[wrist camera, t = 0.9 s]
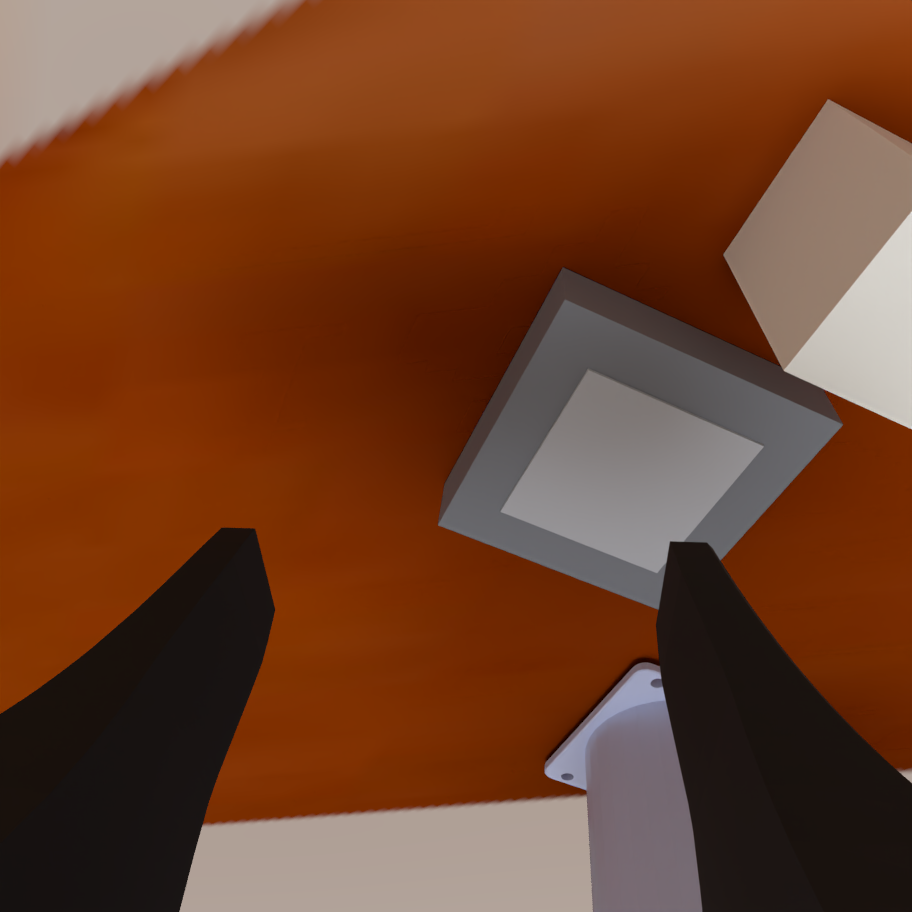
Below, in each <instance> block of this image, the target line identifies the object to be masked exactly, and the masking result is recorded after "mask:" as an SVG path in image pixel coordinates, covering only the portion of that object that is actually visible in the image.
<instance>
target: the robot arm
mask: <svg viewBox="0 0 912 912" xmlns="http://www.w3.org/2000/svg"><path fill="white" fill-rule="evenodd" d="M274 612H275V607H274V603H273V599H272V595H271V591H270V587H269V583H268V579H267V575H266V571H265V567H264V563H263V559H262V555H261V551H260V547H259V543H258V539H257V535H256V531H255V529H250V528H221V529H220V530H219V531H218V532H217V533H216V534H215V535H214V536H213V537H212V538H210V539H209V540H208V541H207V542H206V543H205V544H204V545H203V546H202V547H201V548H200V549H199V550H198V551H197V552H196V553H195V554H194V555H193V556H192V557H191V558H190V559H189V560H188V561H187V562H186V563H185V564H184V565H183V566H182V567H181V568H180V569H179V570H178V571H176V572H175V573H174V574H173V575H172V576H171V577H170V578H169V579H168V580H167V581H166V582H165V583H164V584H163V585H162V586H161V587H160V588H159V589H158V590H157V591H156V592H155V593H153V594H152V595H151V596H150V597H149V598H148V599H147V600H146V601H145V602H144V603H143V604H142V605H141V606H140V607H139V608H137V609H136V610H135V611H134V612H133V613H132V614H131V615H130V616H129V617H127V618H126V619H125V620H124V621H123V622H122V623H120V624H119V625H118V626H117V627H116V628H115V629H114V630H112V631H111V632H110V633H109V634H108V635H107V636H105V637H104V638H103V639H102V640H101V641H100V642H98V643H97V644H96V645H95V646H94V647H93V648H91V649H90V650H89V651H88V652H86V653H85V654H84V655H83V656H81V657H80V658H79V659H78V660H76V661H75V662H74V663H72V664H71V665H70V666H69V667H67V668H66V669H65V670H63V671H62V672H61V673H59V674H58V675H57V676H55V677H54V678H52V679H51V680H50V681H48V682H47V683H46V684H44V685H43V686H42V687H40V688H39V689H37V690H36V691H35V692H33V693H32V694H30V695H29V696H27V697H26V698H24V699H23V700H21V701H20V702H18V703H17V704H15V705H14V706H12V707H10V708H9V709H7V710H6V711H4V712H3V713H1V714H0V912H179V910H180V907H181V903H182V899H183V895H184V891H185V887H186V883H187V880H188V875H189V872H190V868H191V864H192V860H193V856H194V853H195V849H196V845H197V842H198V838H199V835H200V831H201V828H202V824H203V821H204V817H205V814H206V810H207V807H208V803H209V800H210V797H211V794H212V791H213V788H214V785H215V782H216V780H217V777H218V774H219V771H220V769H221V766H222V764H223V761H224V759H225V756H226V754H227V751H228V749H229V746H230V744H231V741H232V738H233V736H234V733H235V731H236V728H237V726H238V723H239V721H240V718H241V716H242V713H243V711H244V708H245V706H246V703H247V700H248V698H249V695H250V693H251V690H252V687H253V685H254V682H255V680H256V677H257V674H258V672H259V669H260V666H261V664H262V661H263V657H264V653H265V649H266V646H267V642H268V638H269V634H270V629H271V625H272V621H273V616H274ZM656 630H657V641H658V652H659V662H660V666H657V665H654V664H652V663H647V662H643V663H639V664H636V665H635V666H634V667H633V668H632V669H631V670H630V671H629V672H628V673H627V674H626V675H625V676H624V677H623V679H622V680H621V681H620V682H619V683H618V684H617V685H616V686H615V687H614V688H613V689H612V691H611V692H610V693H609V694H608V695H607V696H606V697H605V698H604V699H603V700H602V701H601V703H600V704H599V705H598V706H597V707H596V708H595V709H594V710H593V711H592V712H591V713H590V715H589V716H588V717H587V718H586V719H585V720H584V721H583V722H582V723H581V724H580V725H579V727H578V728H577V729H576V730H575V731H574V732H573V733H572V734H571V735H570V736H569V737H568V739H567V740H566V741H565V742H564V743H563V744H562V745H561V746H560V747H559V748H558V750H557V751H556V752H555V753H554V754H553V755H552V756H551V757H550V758H549V759H548V760H547V762H546V763H545V774H546V775H547V776H548V777H550V778H552V779H555V780H558V781H561V782H564V783H567V784H570V785H573V786H576V787H579V788H582V789H585V790H587V807H588V825H589V841H590V842H589V843H590V844H589V845H590V864H591V883H592V899H593V900H592V901H593V912H912V783H911V782H910V781H909V780H907V779H906V778H905V777H904V776H903V775H902V774H901V773H899V772H898V771H897V770H896V769H895V768H894V767H893V766H891V765H890V764H889V763H888V762H887V761H886V760H885V759H884V758H883V757H882V756H881V755H880V754H879V753H878V752H876V751H875V750H874V749H873V748H872V747H871V746H870V745H869V744H868V743H867V742H866V741H865V740H864V739H863V738H862V737H861V736H860V735H859V734H858V733H857V732H856V731H855V730H854V729H853V728H852V727H851V726H850V725H849V724H848V723H847V722H846V721H845V720H844V719H843V718H842V717H841V716H840V715H839V713H838V712H837V711H836V710H835V709H834V708H833V707H832V706H831V705H830V704H829V703H828V702H827V701H826V699H825V698H824V697H823V696H822V695H821V694H820V693H819V692H818V690H817V689H816V688H815V687H814V686H813V685H812V684H811V682H810V681H809V680H808V679H807V678H806V676H805V675H804V674H803V673H802V672H801V671H800V669H799V668H798V667H797V666H796V665H795V663H794V662H793V661H792V660H791V658H790V657H789V656H788V655H787V653H786V652H785V651H784V650H783V649H782V647H781V646H780V645H779V643H778V642H777V641H776V639H775V638H774V637H773V635H772V634H771V633H770V631H769V630H768V629H767V627H766V626H765V625H764V624H763V622H762V621H761V620H760V618H759V617H758V616H757V614H756V613H755V611H754V610H753V609H752V607H751V606H750V604H749V603H748V601H747V600H746V599H745V597H744V596H743V594H742V593H741V591H740V590H739V588H738V587H737V585H736V584H735V582H734V581H733V579H732V578H731V576H730V575H729V573H728V572H727V570H726V569H725V567H724V566H723V564H722V562H721V561H720V559H719V558H718V556H717V554H716V553H715V551H714V550H713V548H712V547H711V546H710V545H709V544H708V543H707V542H677V541H670V544H669V550H668V556H667V562H666V568H665V574H664V580H663V586H662V592H661V598H660V604H659V610H658V616H657V623H656Z"/></svg>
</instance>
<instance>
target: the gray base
mask: <svg viewBox="0 0 912 912" xmlns="http://www.w3.org/2000/svg"><path fill="white" fill-rule="evenodd" d="M842 425H843V423H842V422H841V420H840V418H839V416H838V415H837V413H836V411H835V409H834V408H833V406H832V404H831V402H830V401H829V399H828V397H827V396H826V394H825V392H824V390H823V389H822V388H820V387H818V386H816V385H814V384H811V383H809V382H807V381H805V380H803V379H800V378H798V377H796V376H794V375H792V374H789V373H787V372H785V371H783V369H782V367H780V366H778V365H776V364H774V363H771V362H769V361H767V360H765V359H763V358H760V357H758V356H756V355H754V354H752V353H749V352H747V351H745V350H743V349H741V348H739V347H736V346H734V345H732V344H730V343H728V342H725V341H723V340H721V339H719V338H717V337H714V336H712V335H710V334H708V333H706V332H704V331H701V330H699V329H697V328H695V327H693V326H690V325H688V324H686V323H684V322H682V321H679V320H677V319H675V318H673V317H671V316H668V315H666V314H664V313H662V312H660V311H658V310H655V309H653V308H651V307H649V306H647V305H644V304H642V303H640V302H638V301H636V300H633V299H631V298H629V297H627V296H625V295H623V294H620V293H618V292H616V291H614V290H612V289H609V288H607V287H605V286H603V285H601V284H598V283H596V282H594V281H592V280H590V279H588V278H585V277H583V276H581V275H579V274H577V273H574V272H572V271H570V270H568V269H566V268H562V270H561V272H560V273H559V275H558V277H557V279H556V281H555V283H554V284H553V286H552V288H551V290H550V292H549V294H548V295H547V297H546V299H545V301H544V303H543V305H542V306H541V308H540V310H539V312H538V314H537V316H536V317H535V319H534V321H533V323H532V325H531V327H530V328H529V330H528V332H527V334H526V336H525V338H524V339H523V341H522V343H521V345H520V347H519V349H518V350H517V352H516V354H515V356H514V358H513V360H512V361H511V363H510V365H509V367H508V369H507V371H506V372H505V374H504V376H503V378H502V380H501V381H500V383H499V385H498V387H497V389H496V391H495V392H494V394H493V396H492V398H491V400H490V402H489V403H488V405H487V407H486V409H485V411H484V413H483V414H482V416H481V418H480V420H479V422H478V424H477V425H476V427H475V429H474V431H473V433H472V435H471V436H470V438H469V440H468V442H467V444H466V446H465V447H464V449H463V451H462V453H461V455H460V457H459V458H458V460H457V462H456V464H455V466H454V468H453V469H452V471H451V473H450V475H449V477H448V479H447V480H446V482H445V484H444V490H443V496H442V502H441V509H440V515H439V521H438V525H439V526H442V527H444V528H447V529H449V530H452V531H455V532H457V533H460V534H462V535H465V536H468V537H470V538H473V539H475V540H478V541H481V542H483V543H486V544H488V545H491V546H494V547H496V548H499V549H502V550H504V551H507V552H509V553H512V554H515V555H517V556H520V557H522V558H525V559H528V560H530V561H533V562H535V563H538V564H541V565H543V566H546V567H548V568H551V569H554V570H556V571H559V572H561V573H564V574H567V575H569V576H572V577H575V578H577V579H580V580H582V581H585V582H588V583H590V584H593V585H595V586H598V587H601V588H603V589H606V590H608V591H611V592H614V593H616V594H619V595H621V596H624V597H627V598H629V599H632V600H634V601H637V602H640V603H642V604H645V605H647V606H650V607H653V608H655V609H658V610H659V604H660V598H661V592H662V586H663V580H664V574H665V568H666V562H667V556H668V550H669V544H670V541H677V542H707V543H708V544H709V545H710V546H711V547H712V548H713V550H714V551H715V553H716V554H717V556H718V558H719V559H720V560H721V559H722V558H723V557H724V556H725V555H726V554H727V553H728V551H729V550H730V549H731V548H732V547H733V546H734V545H735V544H736V543H737V541H738V540H739V539H740V538H741V537H742V536H743V535H744V534H745V533H746V532H747V530H748V529H749V528H750V527H751V526H752V525H753V524H754V523H755V522H756V520H757V519H758V518H759V517H760V516H761V515H762V514H763V513H764V512H765V511H766V509H767V508H768V507H769V506H770V505H771V504H772V503H773V502H774V501H775V499H776V498H777V497H778V496H779V495H780V494H781V493H782V492H783V491H784V489H785V488H786V487H787V486H788V485H789V484H790V483H791V482H792V481H793V480H794V478H795V477H796V476H797V475H798V474H799V473H800V472H801V471H802V470H803V468H804V467H805V466H806V465H807V464H808V463H809V462H810V461H811V460H812V459H813V457H814V456H815V455H816V454H817V453H818V452H819V451H820V450H821V449H822V447H823V446H824V445H825V444H826V443H827V442H828V441H829V440H830V439H831V437H832V436H833V435H834V434H835V433H836V432H837V431H838V430H839V429H840V428H841V426H842Z"/></svg>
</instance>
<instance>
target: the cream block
mask: <svg viewBox="0 0 912 912" xmlns="http://www.w3.org/2000/svg"><path fill="white" fill-rule="evenodd" d="M723 255H724V257H725V259H726V261H727V263H728V265H729V267H730V269H731V271H732V273H733V274H734V276H735V278H736V280H737V282H738V284H739V286H740V288H741V290H742V292H743V294H744V296H745V298H746V299H747V301H748V303H749V305H750V307H751V309H752V311H753V313H754V315H755V317H756V319H757V321H758V323H759V324H760V326H761V328H762V330H763V332H764V334H765V336H766V338H767V340H768V342H769V344H770V346H771V347H772V349H773V351H774V353H775V355H776V357H777V359H778V361H779V363H780V365H781V367H782V369H783V371H785V372H787V373H789V374H792V375H794V376H796V377H798V378H800V379H803V380H805V381H807V382H809V383H811V384H814V385H816V386H818V387H820V388H822V389H825V390H827V391H829V392H831V393H833V394H836V395H838V396H840V397H842V398H844V399H846V400H849V401H851V402H853V403H855V404H857V405H860V406H862V407H864V408H866V409H868V410H871V411H873V412H875V413H877V414H879V415H882V416H884V417H886V418H888V419H890V420H892V421H895V422H897V423H899V424H901V425H903V426H906V427H908V428H910V429H912V143H910V142H908V141H906V140H904V139H902V138H900V137H898V136H897V135H895V134H893V133H891V132H889V131H887V130H885V129H883V128H882V127H880V126H878V125H876V124H874V123H872V122H870V121H868V120H866V119H865V118H863V117H861V116H859V115H857V114H855V113H853V112H851V111H850V110H848V109H846V108H844V107H842V106H840V105H838V104H836V103H834V102H833V101H831V100H829V99H828V100H827V102H826V103H825V105H824V106H823V108H822V109H821V111H820V112H819V114H818V115H817V116H816V118H815V119H814V121H813V122H812V124H811V125H810V127H809V128H808V130H807V131H806V133H805V134H804V136H803V137H802V139H801V140H800V142H799V143H798V145H797V146H796V148H795V149H794V151H793V152H792V154H791V155H790V156H789V158H788V159H787V161H786V162H785V164H784V165H783V167H782V168H781V170H780V171H779V173H778V174H777V176H776V177H775V179H774V180H773V182H772V183H771V185H770V186H769V188H768V189H767V191H766V192H765V194H764V195H763V196H762V198H761V199H760V201H759V202H758V204H757V205H756V207H755V208H754V210H753V211H752V213H751V214H750V216H749V217H748V219H747V220H746V222H745V223H744V225H743V226H742V228H741V229H740V231H739V232H738V234H737V235H736V237H735V238H734V239H733V241H732V242H731V244H730V245H729V247H728V248H727V250H726V251H725V253H724V254H723Z"/></svg>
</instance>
